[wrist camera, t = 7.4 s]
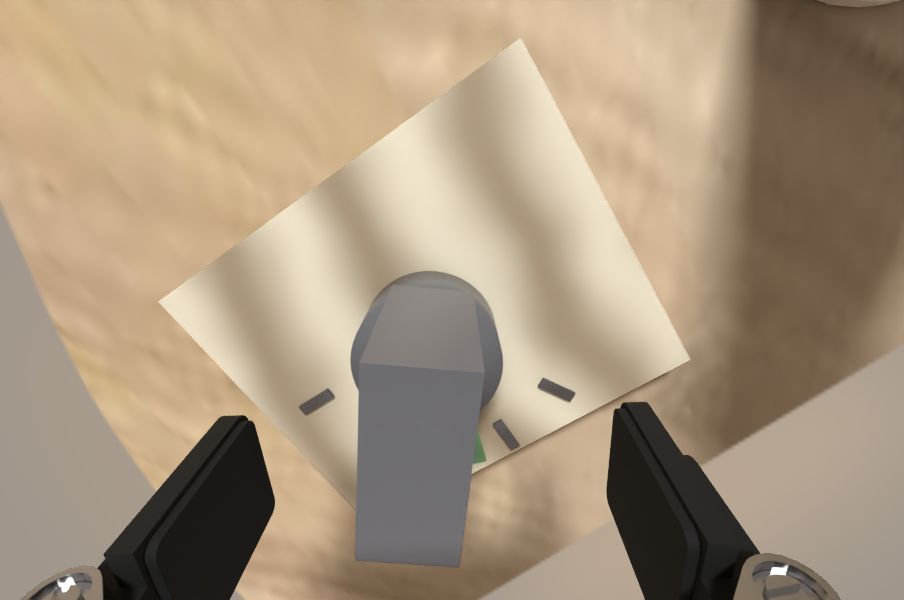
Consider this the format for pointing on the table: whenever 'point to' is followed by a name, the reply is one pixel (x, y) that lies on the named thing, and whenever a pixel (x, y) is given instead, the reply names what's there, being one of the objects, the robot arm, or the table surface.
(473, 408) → the knob
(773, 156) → the table surface
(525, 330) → the dial board
